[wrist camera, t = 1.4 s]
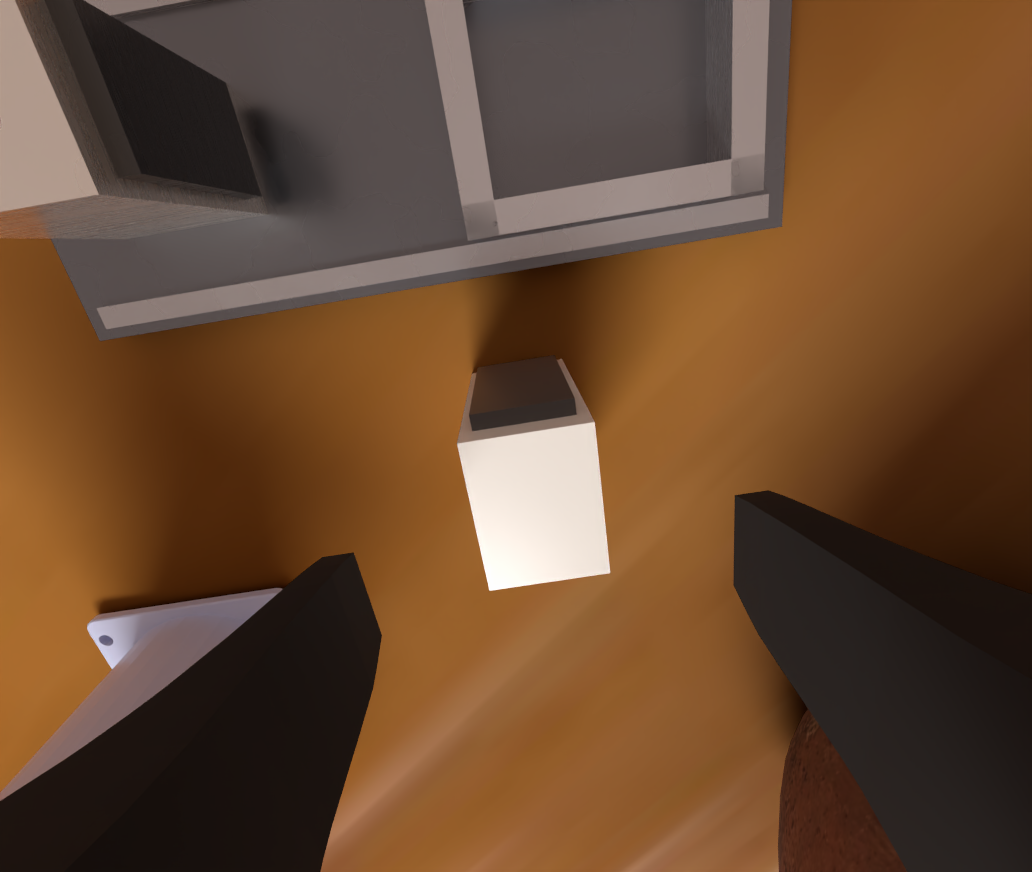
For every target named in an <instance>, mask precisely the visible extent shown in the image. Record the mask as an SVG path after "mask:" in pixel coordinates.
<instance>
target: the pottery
mask: <svg viewBox="0 0 1032 872" xmlns="http://www.w3.org/2000/svg"><path fill="white" fill-rule="evenodd" d="M778 858H779V872H907V871H906V869H905V867H904V865H903V863H902V861H901V860H900V858H899V856H898V854H897V852H896V851H895V849H894V847H893V845H892V844H891V842H890V840H889V838H888V836H887V835H886V833H885V831H884V829H883V827H882V826H881V824H880V822H879V820H878V819H877V817H876V815H875V813H874V811H873V810H872V808H871V806H870V804H869V802H868V801H867V799H866V797H865V795H864V794H863V792H862V790H861V788H860V787H859V785H858V784H857V782H856V780H855V779H854V777H853V776H852V774H851V772H850V771H849V769H848V768H847V766H846V764H845V763H844V761H843V760H842V758H841V757H840V755H839V754H838V752H837V751H836V749H835V748H834V746H833V745H832V743H831V742H830V740H829V739H828V737H827V736H826V734H825V733H824V731H823V730H822V728H821V727H820V725H819V724H818V722H817V721H816V720H815V718H814V717H813V715H812V714H811V712H810V711H809V709H808V710H807V711H806V712H805V714H804V715H803V717H802V719H801V721H800V723H799V725H798V727H797V730H796V732H795V734H794V736H793V738H792V740H791V743H790V747H789V750H788V753H787V757H786V760H785V766H784V773H783V780H782V787H781V794H780V813H779V837H778Z"/></svg>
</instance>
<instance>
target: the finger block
mask: <svg viewBox="0 0 1032 872" xmlns="http://www.w3.org/2000/svg"><path fill="white" fill-rule="evenodd" d="M457 446H458V450H459V455H460V459H461V464H462V468H463V473H464V477H465V482H466V487H467V491H468V496H469V500H470V505H471V509H472V514H473V518H474V523H475V527H476V532H477V536H478V541H479V545H480V550H481V554H482V559H483V563H484V568H485V573H486V577H487V582H488V586H489V591H491V590H498V589H505V588H512V587H519V586H525V585H532V584H539V583H546V582H553V581H559V580H566V579H573V578H580V577H587V576H593V575H600V574H607V573H610V566H609V557H608V547H607V537H606V527H605V518H604V508H603V498H602V488H601V479H600V469H599V459H598V449H597V440H596V430H595V422H594V420H593V418H592V416H591V414H590V412H589V410H588V408H587V406H586V404H585V402H584V400H583V398H582V397H581V395H580V393H579V391H578V389H577V387H576V385H575V383H574V381H573V379H572V377H571V375H570V373H569V371H568V370H567V368H566V366H565V364H564V362H563V360H562V359H558V360H557V359H556V357H555V355H552V356H546V357H539V358H533V359H527V360H521V361H515V362H509V363H502V364H496V365H490V366H484V367H478V368H477V373H472V377H471V381H470V386H469V390H468V395H467V400H466V404H465V409H464V414H463V418H462V423H461V427H460V432H459V437H458V441H457Z"/></svg>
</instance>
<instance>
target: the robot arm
mask: <svg viewBox="0 0 1032 872" xmlns="http://www.w3.org/2000/svg"><path fill="white" fill-rule="evenodd" d="M734 587H735V589H736V591H737V593H738V595H739V597H740V599H741V601H742V603H743V605H744V607H745V609H746V611H747V613H748V615H749V617H750V619H751V621H752V623H753V625H754V627H755V629H756V630H757V632H758V634H759V636H760V637H761V639H762V640H763V642H764V644H765V645H766V647H767V648H768V650H769V651H770V653H771V654H772V656H773V657H774V659H775V660H776V662H777V663H778V665H779V666H780V668H781V669H782V671H783V672H784V674H785V675H786V677H787V678H788V680H789V681H790V683H791V684H792V686H793V687H794V688H795V690H796V691H797V693H798V694H799V696H800V697H801V699H802V700H803V702H804V703H805V705H806V706H807V708H808V709H809V711H810V712H811V714H812V715H813V717H814V718H815V720H816V721H817V722H818V724H819V725H820V727H821V728H822V730H823V731H824V733H825V734H826V736H827V737H828V739H829V740H830V742H831V743H832V745H833V746H834V748H835V749H836V751H837V752H838V754H839V755H840V757H841V758H842V760H843V761H844V763H845V764H846V766H847V768H848V769H849V771H850V772H851V774H852V776H853V777H854V779H855V780H856V782H857V784H858V785H859V787H860V788H861V790H862V792H863V794H864V795H865V797H866V799H867V801H868V802H869V804H870V806H871V808H872V810H873V811H874V813H875V815H876V817H877V819H878V820H879V822H880V824H881V826H882V827H883V829H884V831H885V833H886V835H887V836H888V838H889V840H890V842H891V844H892V845H893V847H894V849H895V851H896V852H897V854H898V856H899V858H900V860H901V861H902V863H903V865H904V867H905V869H906V871H907V872H1032V594H1029V593H1026V592H1023V591H1020V590H1017V589H1014V588H1011V587H1008V586H1006V585H1003V584H1000V583H997V582H994V581H991V580H988V579H986V578H983V577H980V576H977V575H975V574H972V573H970V572H967V571H964V570H962V569H959V568H956V567H954V566H951V565H949V564H946V563H943V562H941V561H938V560H935V559H933V558H930V557H927V556H925V555H923V554H920V553H918V552H915V551H913V550H910V549H908V548H905V547H903V546H900V545H898V544H895V543H893V542H891V541H888V540H886V539H883V538H881V537H879V536H876V535H874V534H872V533H869V532H867V531H865V530H862V529H860V528H858V527H855V526H853V525H851V524H848V523H846V522H844V521H841V520H839V519H837V518H835V517H832V516H830V515H828V514H825V513H823V512H821V511H819V510H816V509H814V508H812V507H809V506H807V505H805V504H802V503H800V502H798V501H795V500H793V499H790V498H788V497H785V496H783V495H780V494H777V493H774V492H771V491H761V492H755V493H748V494H741V495H735V524H734ZM87 629H88V632H89V633H90V635H91V637H92V638H93V640H94V641H95V643H96V645H97V646H98V648H99V649H100V651H101V652H102V654H103V656H104V657H105V659H106V660H107V662H108V664H109V665H110V667H111V668H112V670H111V671H110V672H109V674H108V675H107V676H106V677H105V678H104V679H103V680H102V681H101V682H100V683H99V685H98V686H97V687H96V688H95V689H94V690H93V691H92V692H91V693H90V694H89V696H88V697H87V698H86V699H85V700H84V701H83V702H82V703H81V704H80V705H79V707H78V708H77V709H76V710H75V711H74V712H73V713H72V714H71V715H70V717H69V718H68V719H67V720H66V721H65V722H64V723H63V724H62V725H61V726H60V728H59V729H58V730H57V731H56V732H55V733H54V734H53V735H52V736H51V737H50V739H49V740H48V741H47V742H46V743H45V744H44V745H43V746H42V747H41V748H40V750H39V751H38V752H37V753H36V754H35V755H34V756H33V757H32V758H31V759H30V761H29V762H28V763H27V764H26V765H25V766H24V767H23V768H22V769H21V771H20V772H19V773H18V774H17V775H16V776H15V777H14V778H13V779H12V780H11V782H10V783H9V784H8V785H7V786H6V787H5V788H4V789H3V790H2V791H1V793H0V872H320V871H321V866H322V862H323V857H324V854H325V850H326V846H327V842H328V838H329V835H330V831H331V827H332V823H333V820H334V817H335V814H336V810H337V807H338V804H339V800H340V797H341V794H342V790H343V787H344V784H345V781H346V777H347V774H348V771H349V767H350V764H351V761H352V757H353V754H354V751H355V748H356V744H357V741H358V738H359V734H360V731H361V728H362V724H363V721H364V717H365V714H366V711H367V707H368V704H369V700H370V697H371V693H372V690H373V685H374V680H375V674H376V669H377V663H378V656H379V650H380V643H381V637H382V635H381V632H380V629H379V626H378V623H377V620H376V617H375V614H374V611H373V608H372V605H371V602H370V599H369V597H368V594H367V591H366V588H365V585H364V582H363V579H362V576H361V573H360V570H359V567H358V564H357V561H356V558H355V555H354V553H348V554H341V555H334V556H328V557H322V558H321V559H319V560H318V561H317V562H315V563H314V564H312V565H311V566H310V567H309V568H307V569H306V570H305V571H304V572H303V573H301V574H300V575H299V576H298V577H297V578H295V579H294V580H293V581H292V582H291V583H289V584H288V585H287V586H286V587H285V588H284V589H282V588H272V589H265V590H259V591H252V592H245V593H239V594H232V595H225V596H219V597H212V598H205V599H199V600H192V601H185V602H179V603H172V604H165V605H159V606H152V607H145V608H139V609H132V610H125V611H119V612H112V613H105V614H100V615H97V616H96V617H95V618H93V619H92V620H91V621H90V622H89V623H88V626H87Z"/></svg>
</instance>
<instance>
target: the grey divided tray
mask: <svg viewBox="0 0 1032 872" xmlns="http://www.w3.org/2000/svg"><path fill="white" fill-rule="evenodd" d="M791 13H792V0H0V238H33V239H51V240H52V242H53V244H54V246H55V249H56V251H57V253H58V255H59V257H60V259H61V261H62V263H63V265H64V267H65V269H66V271H67V274H68V276H69V278H70V280H71V282H72V284H73V286H74V288H75V290H76V292H77V294H78V296H79V299H80V301H81V303H82V305H83V307H84V309H85V311H86V313H87V315H88V317H89V319H90V321H91V324H92V326H93V328H94V330H95V332H96V334H97V336H98V338H99V340H100V341H103V340H109V339H115V338H121V337H127V336H133V335H139V334H145V333H151V332H157V331H163V330H169V329H175V328H181V327H187V326H192V325H198V324H204V323H210V322H216V321H222V320H228V319H234V318H240V317H246V316H252V315H258V314H264V313H270V312H276V311H282V310H288V309H294V308H300V307H306V306H312V305H318V304H324V303H329V302H335V301H341V300H347V299H353V298H359V297H365V296H371V295H377V294H383V293H389V292H395V291H401V290H407V289H413V288H419V287H425V286H431V285H437V284H443V283H449V282H455V281H461V280H466V279H472V278H478V277H484V276H490V275H496V274H502V273H508V272H514V271H520V270H526V269H532V268H538V267H544V266H550V265H556V264H562V263H568V262H574V261H580V260H586V259H592V258H597V257H603V256H609V255H615V254H621V253H627V252H633V251H639V250H645V249H651V248H657V247H663V246H669V245H675V244H681V243H687V242H693V241H699V240H705V239H711V238H717V237H723V236H729V235H734V234H740V233H746V232H752V231H758V230H764V229H770V228H776V227H782V213H783V191H784V169H785V147H786V124H787V102H788V80H789V57H790V35H791Z"/></svg>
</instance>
